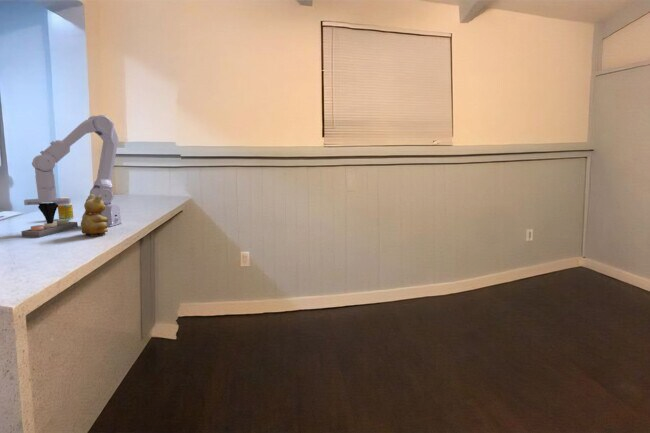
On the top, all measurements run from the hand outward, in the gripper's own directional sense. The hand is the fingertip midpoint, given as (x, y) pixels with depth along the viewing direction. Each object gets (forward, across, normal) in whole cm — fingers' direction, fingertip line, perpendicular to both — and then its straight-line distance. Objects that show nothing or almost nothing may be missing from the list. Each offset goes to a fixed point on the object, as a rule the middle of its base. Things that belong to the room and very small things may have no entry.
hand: (50, 223), depth 150 cm
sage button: (+2, -2, -6) cm, 6 cm away
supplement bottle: (+3, +3, -26) cm, 27 cm away
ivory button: (+2, 0, 0) cm, 2 cm away
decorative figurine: (+3, -17, +11) cm, 21 cm away
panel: (+3, 0, 0) cm, 3 cm away
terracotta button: (+2, +2, +6) cm, 6 cm away
